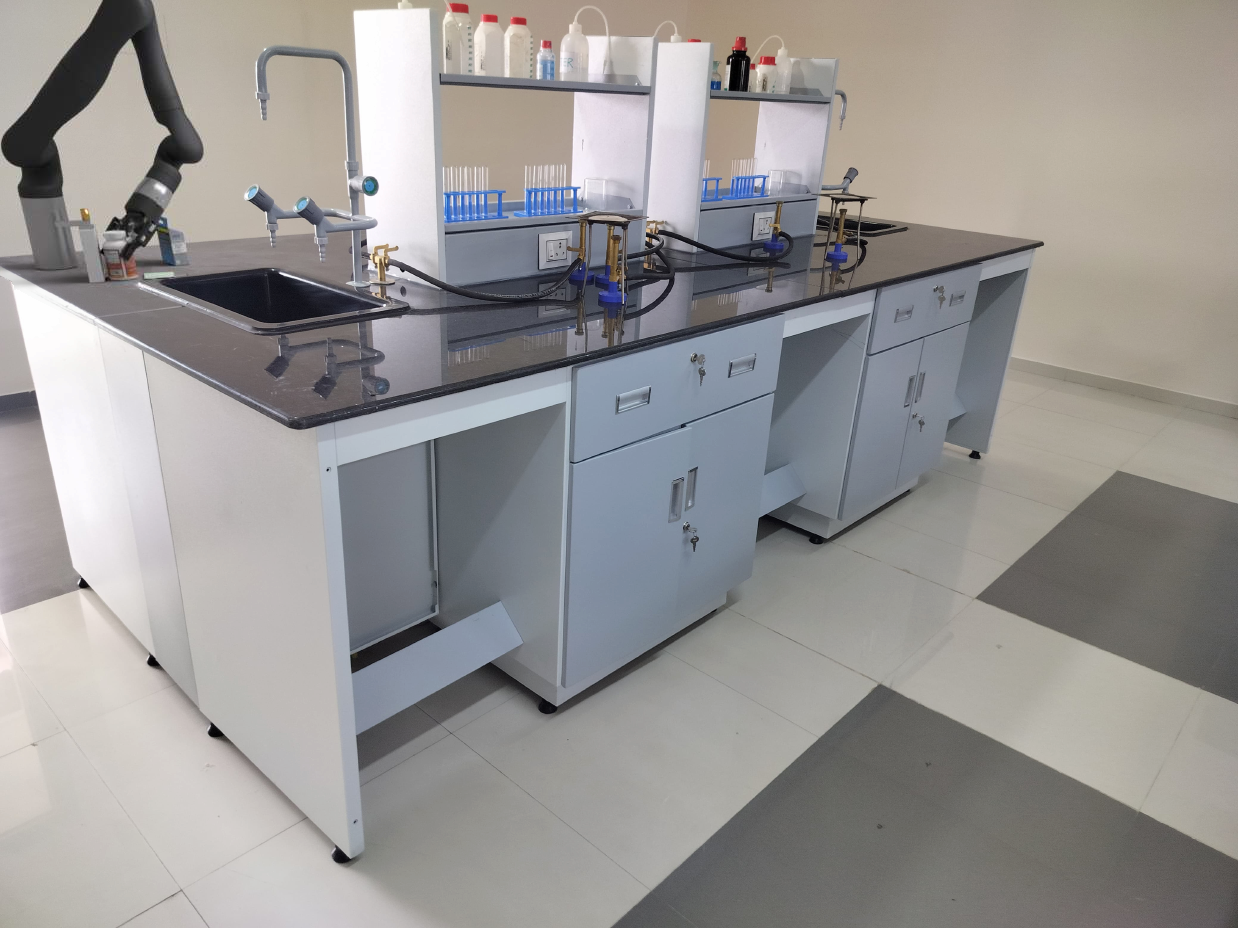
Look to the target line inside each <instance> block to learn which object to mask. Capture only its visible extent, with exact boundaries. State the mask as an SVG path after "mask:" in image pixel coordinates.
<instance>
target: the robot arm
mask: <svg viewBox="0 0 1238 928" xmlns="http://www.w3.org/2000/svg"><path fill="white" fill-rule="evenodd" d="M129 40H130V41H131V43H132V46H133V48H134V51H135V54H136V57H137V61H138V65H139V69H140V76H141V80H142V84H143V88H144V93H145V94H146V95H145V96H146V97H147V101H148V103H149V106H150V108H151V112H152V113H153V116H154V119H155V121H156V122H157V124H159V125H161V126H163V127H165V128H166V129H167V130H168V132H169V135H167V136H165V137H164V138H163V139H162V140H161V141H160V143H159V145H158V147H157V150H156V153H155V156H154V159H153V163H152V165H151V167H150V168H149V169H148V171H147V173H146V174H145V175H144V177H143V179H142V180H140V182H139V183H138V185H137V186H136V188H135V189H134V191H133V192H132V194H131V195H130V197H128V198H129V199H128V200H127V202H126V203H125V205H124V210H125V213H126V214H125V215H124V216H123V217H121V218H118V217H117V216H114V217H112V218H111V221H110V222H109V224H108V225H107V227H106V229H105V231H104V232H106V231H117V230H119V231H125V232H126V240H127V241H128V242H129V243H126V245H125V247H124V248H123V250H122V251H121V253H120V257H121V258H123V259H124V260H126V261H129V259H130V258H131V256H132V255H133V254H134V253H136V250H138V249H140V248H141V247H142V248H145V247H146V246H147V245H148V243H150V241H151V240H152V239H153V237H154V235H155V234H156V233H157V229H158V228H157V227H156V223H157V222H158V220H159V219H160V217H162V215H163V214H164V213H165V211H166V209H167V208H168V205H169V204H170V202H171V200H172V198H173V196H174V194H175V192H176V191H177V190H178V187H180V184H181V182H182V179H183V176H182V174H181V171H180V169H181V168H182V166H183V165H193V164H197V163H199V162H201V160H202V159H203V158H204V154H205V153H204V145H203V142H202V139H201V137H200V135H199V132H198V131H197V130H196V128H195V127H194V125H193V123H192V121H191V120H190V119H189V117H188V116H187V114H186V112H185V108H184V107H183V106H184V105H183V103H182V100H181V98H180V95H179V92H178V89H177V86H176V84H175V81H174V79H173V75H172V72H171V70H170V66H169V65H168V62H167V58H166V55H165V52H164V47H163V44H162V40H161V37H160V31H159V25H158V20H157V16H156V10H155V6H154V3H153V1H152V0H102V1H101V3H100V5H99V6H98V8H97V10H96V13H95V14H94V16H93V18H92V20H91V21H90V23H89V24H88V26H87V28H86V29H85V31H84V32H83V33H82V34H81V35H80V36H79V37H78V38H77V39H76V40H75V42H73V44H72V45H71V47H70V48H69V49H68V50H67V52H66V53H65V54H64V55H63V56H62V57H61V59H60V60H59V62H58V63H57V64H56V66H55V67H54V68H53V70H52V72H51V73H50V74H49V76H48V78H47V80H45V82H44V83H43V85H42V87H41V88H40V90H39V91H38V92H37V94H36V96H35V97H34V99H33V100H32V102H31V103H30V105H29V107H27V108H26V109H25V111H24V112H23V113H22V114H21V115H20V116H19V117H18V118H17V119H16V120H15V122H13V124H11V126H10V127H9V128H8V129H7V130H6V131H5V132H4V134H3V135H2V138H1V142H0V150H1V153H2V155H3V157H4V159H5V160H6V161H7V162H8V163H9V164H11V165H12V166H14V167H18V168H20V169H21V170H20V171H21V179H20V181H19V183H18V184H17V193H18V197H19V201H20V205H21V206H20V207H21V209H22V214H23V217H24V221H25V225H26V226H25V227H26V231H27V234H28V238H29V243H30V248H31V252H32V256H33V257H32V258H33V261H34V265H35V268H36V269H38V270H47V271H48V270H51V271H52V270H64V269H72V268H76V267H78V266H79V262H78V257H77V253H76V248H75V244H74V243H75V242H74V238H73V233H72V230H71V227H56V226H55V221H70V220H69V216H68V215H69V214H68V211H67V207H66V202H65V198H64V193H63V186H64V176H63V169H62V164H61V163H62V162H61V159H60V153H59V148H58V145H57V143H56V141H55V140H54V137H55V136H56V134H57V133H58V132H59V131H60V130H61V128H62V127H64V126H65V124H67V123H68V122H70V121H71V120H72V119H73V118H75V117H76V116H78V115H79V114H81V112H83V110H84V109H86V108H87V107H89V105H90V104H91V102H92V101H93V100H94V99H95V97H96V96H97V95H98V94H99V92H100V91H101V89H102V88H103V86H104V84H105V83H106V81H107V79H108V77H109V75H110V72H111V71H112V68H113V65H114V63H115V60H116V58H117V56H118V54H119V53H120V52H121V50H122V48H123V47H124V46H125V45H126V44H127V43H128V41H129ZM159 221H160V220H159ZM102 236H103V237H104V234H103V235H102ZM144 237H145V238H144ZM100 253H101V256H102V255H103V256H104V251H103V247H101V248H100Z"/></svg>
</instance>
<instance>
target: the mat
mask: <svg viewBox="0 0 1238 928" xmlns="http://www.w3.org/2000/svg"><path fill="white" fill-rule="evenodd" d="M143 275H144V280H145V279H152V280H157V279H156V278H163V277H173V276H174V277H175V273H174V271H164V272H146V273H145V272H144V273H143Z"/></svg>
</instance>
